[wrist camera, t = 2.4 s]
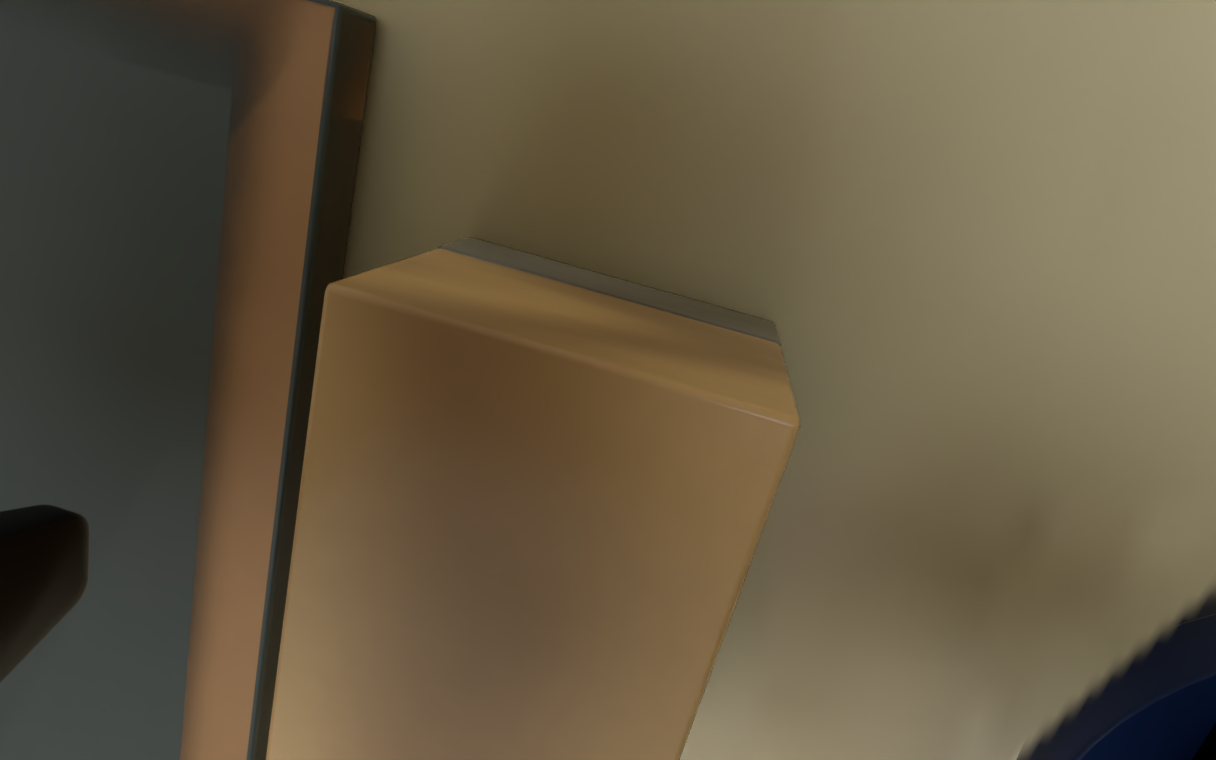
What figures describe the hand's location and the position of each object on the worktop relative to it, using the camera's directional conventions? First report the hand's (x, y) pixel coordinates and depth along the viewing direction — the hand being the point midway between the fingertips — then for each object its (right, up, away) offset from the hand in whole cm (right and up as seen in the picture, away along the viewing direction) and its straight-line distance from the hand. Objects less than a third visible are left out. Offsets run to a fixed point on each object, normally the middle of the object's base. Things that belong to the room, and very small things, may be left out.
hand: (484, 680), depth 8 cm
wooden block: (+1, +1, +4) cm, 4 cm away
